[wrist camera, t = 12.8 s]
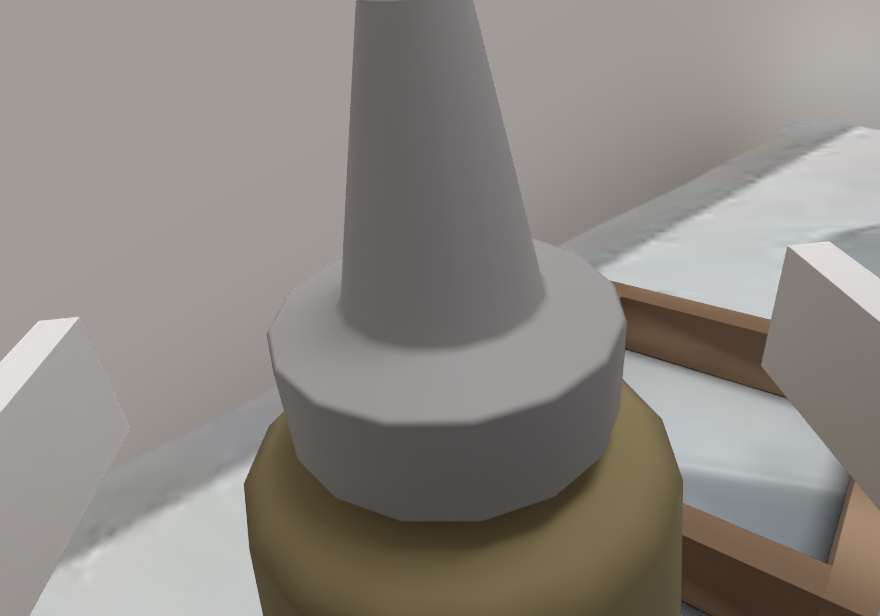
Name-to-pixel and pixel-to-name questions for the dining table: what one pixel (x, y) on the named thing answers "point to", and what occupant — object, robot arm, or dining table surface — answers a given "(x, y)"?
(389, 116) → the squeeze bottle
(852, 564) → the bottle holder
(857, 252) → the dining table surface
